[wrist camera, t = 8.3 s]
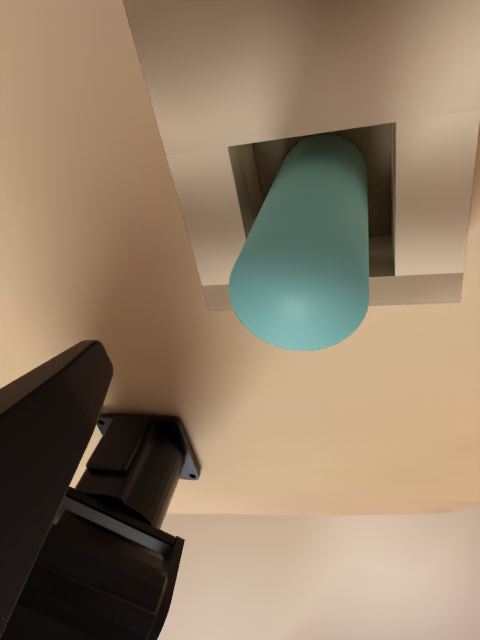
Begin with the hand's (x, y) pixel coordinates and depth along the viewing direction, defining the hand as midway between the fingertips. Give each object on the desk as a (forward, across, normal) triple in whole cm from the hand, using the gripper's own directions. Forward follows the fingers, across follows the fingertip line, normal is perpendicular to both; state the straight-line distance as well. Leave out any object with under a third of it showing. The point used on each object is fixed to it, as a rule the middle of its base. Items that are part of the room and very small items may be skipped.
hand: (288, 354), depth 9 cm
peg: (+11, 0, 0) cm, 11 cm away
